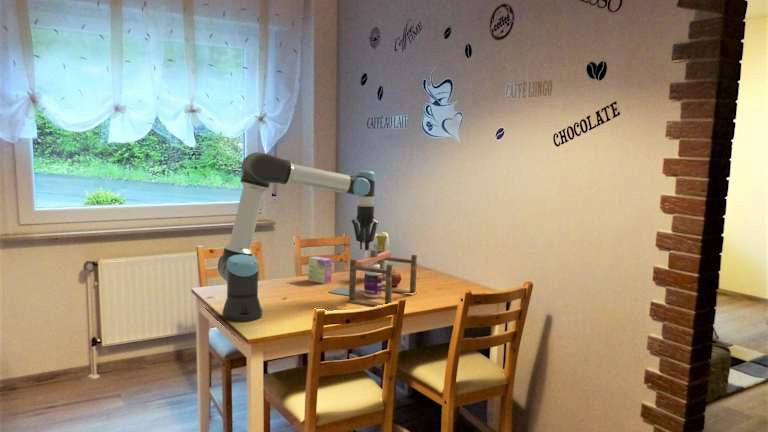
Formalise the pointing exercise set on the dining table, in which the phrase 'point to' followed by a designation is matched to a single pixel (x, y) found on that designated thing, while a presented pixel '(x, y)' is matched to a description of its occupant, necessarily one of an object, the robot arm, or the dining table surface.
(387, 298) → the frame
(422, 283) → the dining table surface
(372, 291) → the pill bottle
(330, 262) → the box
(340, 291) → the coaster
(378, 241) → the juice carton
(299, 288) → the dining table surface
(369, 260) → the bar
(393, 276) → the apple
